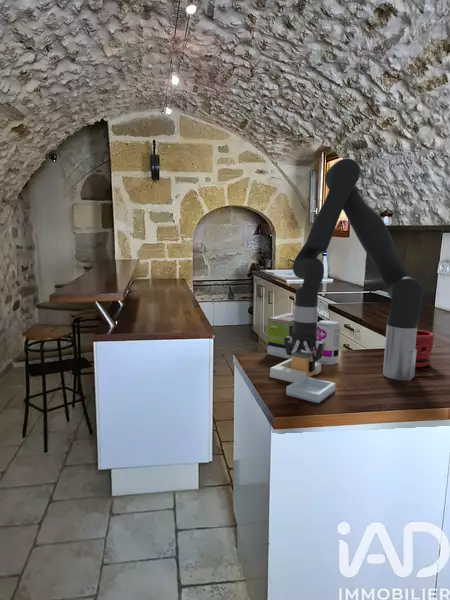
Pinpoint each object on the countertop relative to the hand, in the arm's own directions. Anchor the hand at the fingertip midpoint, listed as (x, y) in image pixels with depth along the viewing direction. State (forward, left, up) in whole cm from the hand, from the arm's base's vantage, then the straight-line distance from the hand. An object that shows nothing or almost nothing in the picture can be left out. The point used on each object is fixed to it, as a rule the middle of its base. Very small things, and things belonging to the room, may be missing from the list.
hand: (302, 369), depth 142 cm
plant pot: (-25, -39, -2) cm, 46 cm away
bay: (+2, 0, -2) cm, 3 cm away
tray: (-9, +13, -2) cm, 16 cm away
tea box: (+17, -22, -2) cm, 28 cm away
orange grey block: (0, 0, -2) cm, 2 cm away
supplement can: (0, -20, -2) cm, 20 cm away
